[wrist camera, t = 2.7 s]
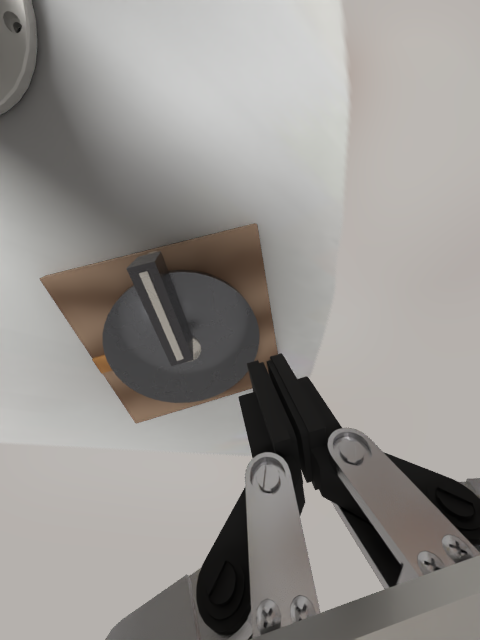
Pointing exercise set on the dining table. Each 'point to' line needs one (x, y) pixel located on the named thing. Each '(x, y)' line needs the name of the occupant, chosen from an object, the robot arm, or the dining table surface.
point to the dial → (179, 333)
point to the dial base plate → (195, 254)
